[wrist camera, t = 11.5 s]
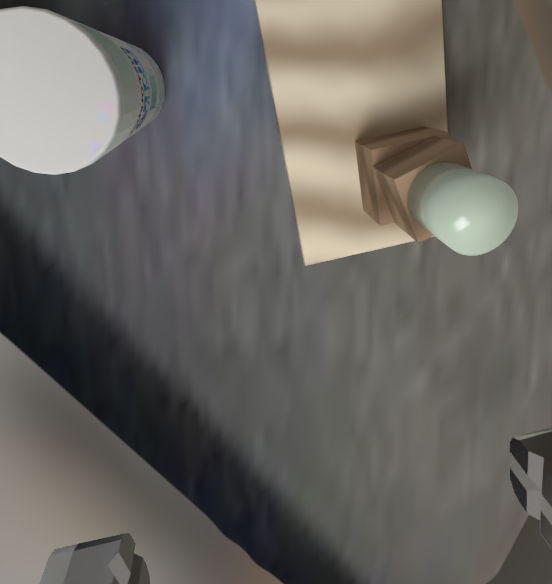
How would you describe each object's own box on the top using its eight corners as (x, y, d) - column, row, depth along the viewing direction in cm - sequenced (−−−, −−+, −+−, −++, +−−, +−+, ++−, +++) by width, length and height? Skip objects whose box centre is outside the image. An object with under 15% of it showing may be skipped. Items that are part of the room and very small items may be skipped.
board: (253, -5, 36) (254, -7, 35) (432, -44, 37) (439, -48, 36) (303, 261, 46) (305, 265, 45) (446, 228, 46) (452, 232, 45)
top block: (372, 166, 36) (393, 179, 32) (433, 135, 36) (464, 143, 31) (394, 223, 39) (418, 243, 34) (452, 194, 38) (484, 210, 33)
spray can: (75, 40, 36) (-69, 4, 18) (163, 40, 37) (107, 5, 19) (89, 131, 39) (-24, 177, 21) (171, 129, 40) (129, 173, 22)
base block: (354, 141, 40) (371, 150, 36) (423, 126, 41) (449, 132, 36) (363, 209, 43) (380, 225, 38) (428, 195, 43) (452, 209, 39)
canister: (404, 169, 32) (438, 187, 27) (471, 154, 32) (518, 169, 27) (409, 235, 34) (442, 262, 29) (473, 220, 34) (517, 245, 29)
